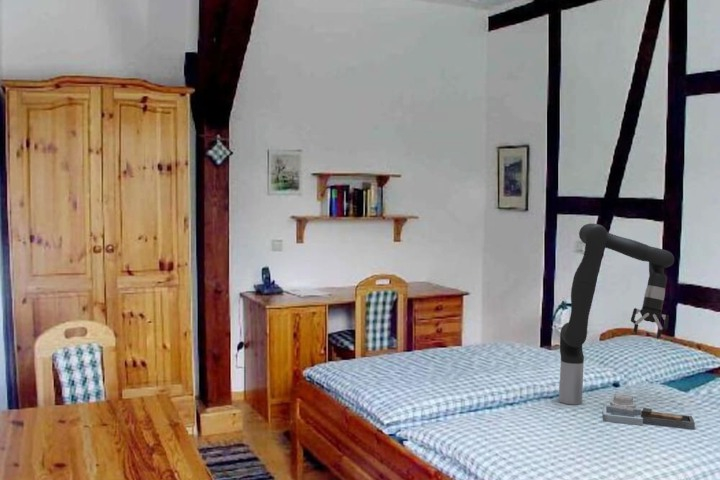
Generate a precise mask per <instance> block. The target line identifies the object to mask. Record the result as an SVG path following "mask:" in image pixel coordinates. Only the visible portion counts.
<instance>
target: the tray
mask: <svg viewBox="0 0 720 480" xmlns="http://www.w3.org/2000/svg"><path fill="white" fill-rule="evenodd" d="M611 407H612V405H606V404H603V405H602V421H603V422H609V423H618V424H627V425H633V424H635V425H636V424H637V425H636V426H642V425H644V424H643V418H641V417H638V416H637V417H635V416H636V415H641V411H642V409H641V408H635V414H634V417H628V416H619V415H611ZM609 413H610V414H609Z"/></svg>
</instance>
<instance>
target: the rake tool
mask: <svg viewBox="0 0 720 480" xmlns="http://www.w3.org/2000/svg"><path fill="white" fill-rule="evenodd" d="M652 410H653V409H652V408H648V407H643V408H642V410H641V411H642V416H643V417H653V418H662V419H671V420H680V421H682V416H680V415H681V414H678V415H673V414H674V413H668V414H666V413H667V412H658V411H657V412H656V411H652Z"/></svg>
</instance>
